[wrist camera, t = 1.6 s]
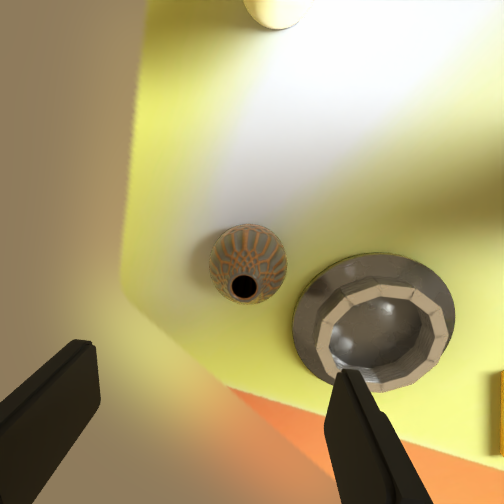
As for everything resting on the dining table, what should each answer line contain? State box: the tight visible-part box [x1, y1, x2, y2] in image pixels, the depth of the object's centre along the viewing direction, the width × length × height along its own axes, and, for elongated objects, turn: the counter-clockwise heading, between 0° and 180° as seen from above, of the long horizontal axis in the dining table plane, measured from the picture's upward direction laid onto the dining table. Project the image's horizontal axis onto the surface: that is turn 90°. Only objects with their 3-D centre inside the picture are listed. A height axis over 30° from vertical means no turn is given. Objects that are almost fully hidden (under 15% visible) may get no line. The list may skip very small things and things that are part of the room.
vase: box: [209, 224, 287, 305], centre depth 22 cm, size 7×7×9 cm
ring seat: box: [292, 253, 455, 393], centre depth 26 cm, size 17×17×3 cm
